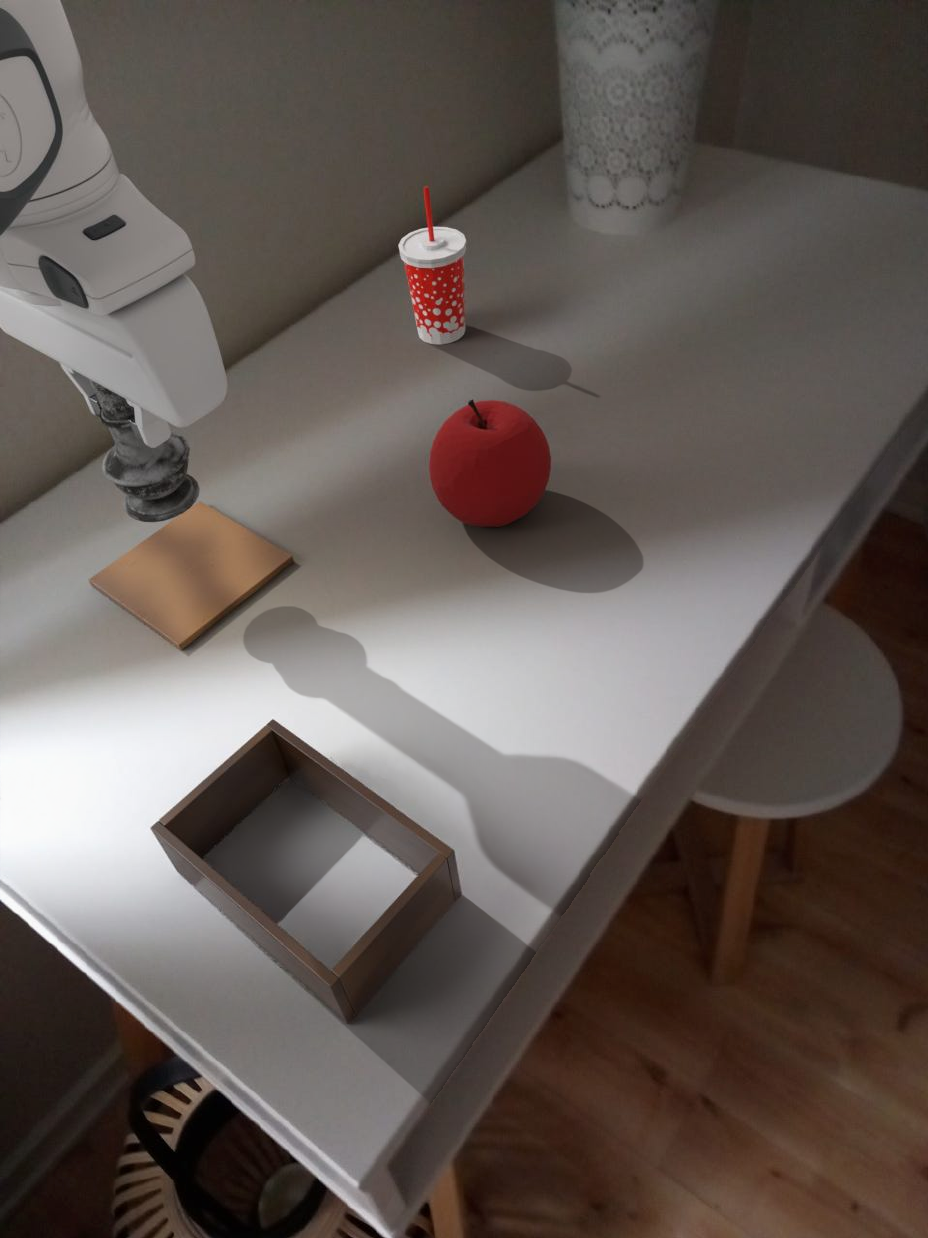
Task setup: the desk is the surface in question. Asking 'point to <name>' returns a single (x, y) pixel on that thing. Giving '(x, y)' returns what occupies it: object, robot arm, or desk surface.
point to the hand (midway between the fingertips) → (132, 426)
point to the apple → (489, 463)
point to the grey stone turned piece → (145, 465)
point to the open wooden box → (283, 755)
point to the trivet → (190, 573)
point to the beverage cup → (436, 279)
